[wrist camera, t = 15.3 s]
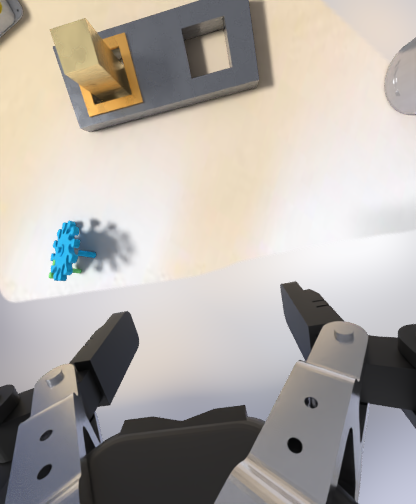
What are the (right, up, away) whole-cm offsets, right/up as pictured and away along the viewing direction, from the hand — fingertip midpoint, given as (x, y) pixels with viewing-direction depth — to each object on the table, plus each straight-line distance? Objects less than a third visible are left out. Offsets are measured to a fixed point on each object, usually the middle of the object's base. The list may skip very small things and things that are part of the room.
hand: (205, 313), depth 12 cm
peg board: (-7, +29, +21) cm, 36 cm away
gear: (-23, +4, +29) cm, 38 cm away
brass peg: (-13, +28, +22) cm, 38 cm away
